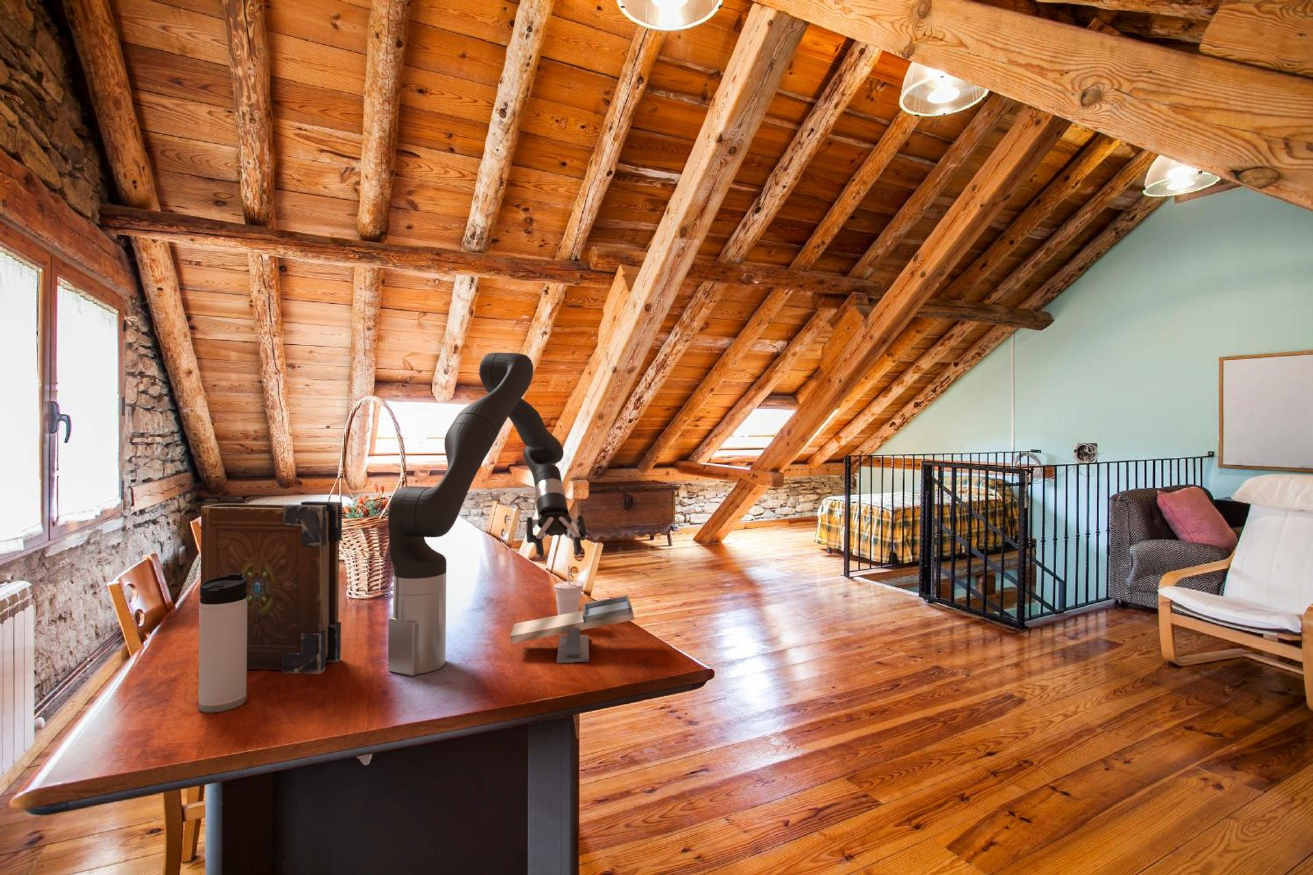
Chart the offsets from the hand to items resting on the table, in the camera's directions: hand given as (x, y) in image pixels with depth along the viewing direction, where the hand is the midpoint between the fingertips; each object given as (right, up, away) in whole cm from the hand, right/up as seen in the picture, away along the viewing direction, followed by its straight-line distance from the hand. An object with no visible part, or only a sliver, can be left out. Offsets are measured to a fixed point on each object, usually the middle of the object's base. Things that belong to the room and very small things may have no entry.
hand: (560, 554), depth 150 cm
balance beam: (+6, -10, -23) cm, 26 cm away
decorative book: (-49, -15, -33) cm, 61 cm away
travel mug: (-46, -15, -50) cm, 69 cm away
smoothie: (+3, -15, -8) cm, 17 cm away
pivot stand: (+6, -15, -23) cm, 28 cm away
